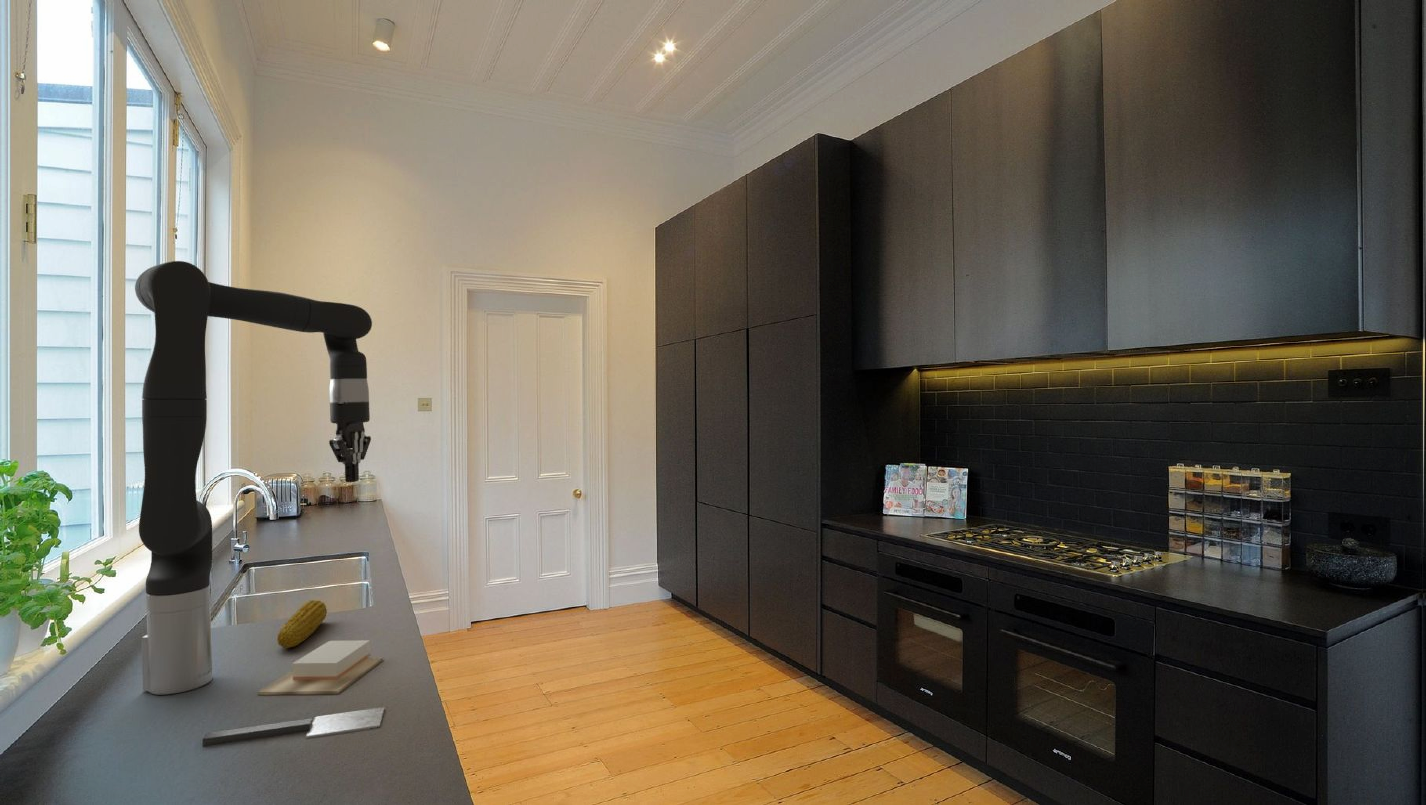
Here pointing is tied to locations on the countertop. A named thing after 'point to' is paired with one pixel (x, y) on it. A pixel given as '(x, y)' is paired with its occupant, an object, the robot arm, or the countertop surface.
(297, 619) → the food
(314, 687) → the board
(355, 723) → the knife with black handle
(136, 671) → the countertop surface
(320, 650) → the sponge
